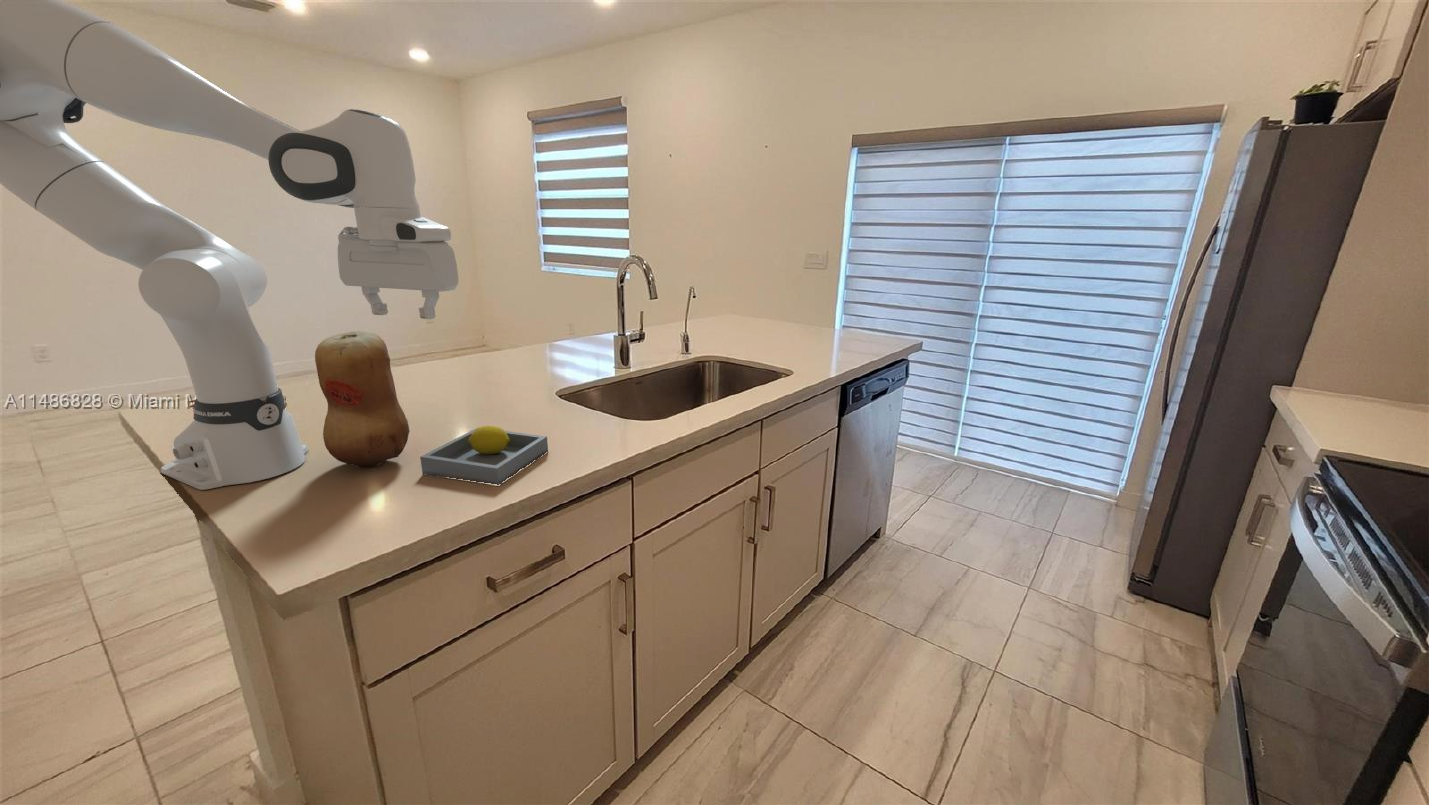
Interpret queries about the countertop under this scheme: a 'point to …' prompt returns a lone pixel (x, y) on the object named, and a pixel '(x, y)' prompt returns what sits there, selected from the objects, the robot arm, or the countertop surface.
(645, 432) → the countertop surface
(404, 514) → the countertop surface
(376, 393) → the butternut squash
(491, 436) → the lemon
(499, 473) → the tray
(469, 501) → the countertop surface
